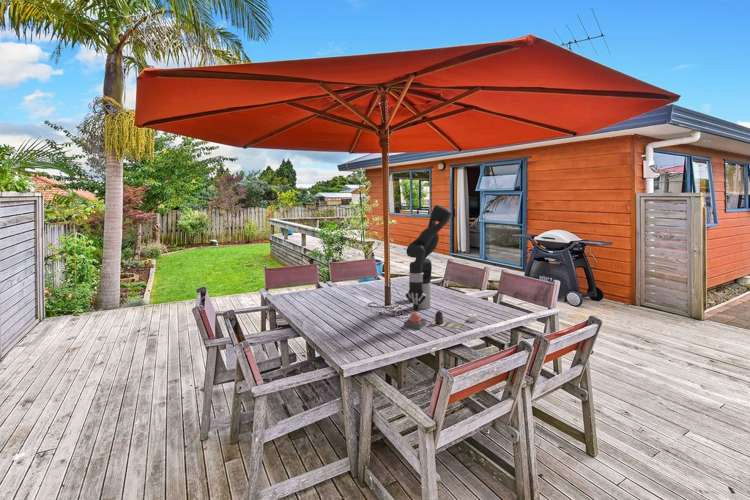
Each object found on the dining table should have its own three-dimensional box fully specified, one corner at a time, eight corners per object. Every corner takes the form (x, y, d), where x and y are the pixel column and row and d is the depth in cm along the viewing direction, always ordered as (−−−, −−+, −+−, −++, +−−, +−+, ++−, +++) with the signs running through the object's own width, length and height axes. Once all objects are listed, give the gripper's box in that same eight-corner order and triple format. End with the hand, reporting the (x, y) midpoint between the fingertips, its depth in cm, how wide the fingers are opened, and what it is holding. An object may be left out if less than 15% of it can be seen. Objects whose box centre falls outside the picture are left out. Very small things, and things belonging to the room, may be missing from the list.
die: (468, 323, 217) (469, 315, 216) (468, 321, 221) (468, 313, 220) (476, 323, 216) (476, 316, 215) (476, 321, 220) (476, 313, 219)
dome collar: (404, 328, 209) (403, 321, 209) (411, 323, 217) (411, 317, 217) (419, 331, 204) (419, 324, 204) (426, 326, 213) (426, 319, 212)
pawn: (434, 323, 213) (434, 311, 212) (436, 321, 217) (436, 309, 216) (441, 325, 211) (441, 312, 210) (444, 322, 215) (444, 310, 214)
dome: (407, 323, 210) (407, 313, 209) (412, 320, 215) (412, 310, 214) (418, 325, 206) (418, 315, 206) (422, 322, 212) (422, 312, 211)
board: (428, 326, 212) (428, 324, 212) (434, 321, 221) (434, 319, 221) (459, 331, 203) (459, 329, 203) (464, 326, 212) (464, 324, 211)
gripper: (402, 280, 208) (402, 310, 210) (424, 282, 201) (424, 313, 203) (407, 278, 214) (408, 307, 216) (429, 280, 208) (429, 310, 209)
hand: (416, 310), depth 210 cm, fingers closed
